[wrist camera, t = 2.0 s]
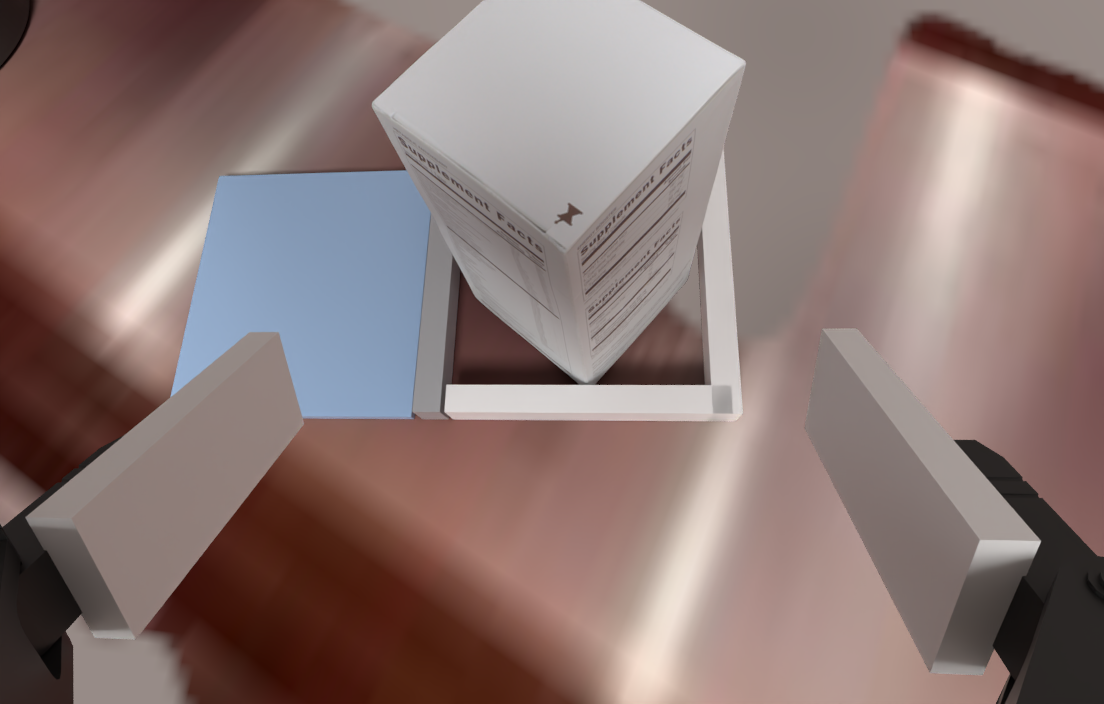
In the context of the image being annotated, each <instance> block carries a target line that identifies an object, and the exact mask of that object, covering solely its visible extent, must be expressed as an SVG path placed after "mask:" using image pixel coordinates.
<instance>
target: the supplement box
mask: <svg viewBox="0 0 1104 704" xmlns="http://www.w3.org/2000/svg"><path fill="white" fill-rule="evenodd" d="M745 66H746V62H745V61H744V60H743V59H741V58H740V57H738V56H736V55H734V54H732V53H731V52H729V51H727V50H725V49H723V48H722V47H720V46H718V45H716V44H715V43H713V42H711V41H709V40H708V39H706V38H704V37H703V36H701V35H699V34H697V33H696V32H694V31H692V30H690V29H688V28H687V27H685V26H683V25H682V24H680V23H678V22H676V21H675V20H673V19H671V18H670V17H668V16H666V15H664V14H663V13H661V12H659V11H658V10H656V9H654V8H652V7H651V6H649V5H647V4H646V3H644V2H642V1H641V0H483V1H482V2H481V3H480V4H479V5H477V6H476V7H475V8H474V9H473V10H472V11H471V12H470V13H469V14H468V15H466V16H465V17H464V18H463V19H462V20H461V21H460V22H459V23H458V24H457V25H456V26H454V27H453V28H452V29H451V30H450V31H449V32H448V33H447V34H446V35H444V37H442V38H441V39H440V40H439V41H438V42H437V43H435V44H434V45H433V46H432V47H431V48H430V49H429V50H428V51H427V52H425V53H424V54H423V55H422V56H421V57H420V58H419V59H418V60H417V61H416V62H415V63H413V64H412V65H411V66H410V67H409V68H408V69H407V70H406V71H405V72H404V73H403V74H402V75H401V76H400V77H398V78H397V79H396V80H395V81H394V82H393V83H392V84H391V85H390V86H389V87H388V88H387V89H386V90H385V91H383V92H382V93H381V94H380V95H379V96H378V97H377V98H376V99H375V100H374V101H373V102H372V108H373V110H374V112H375V114H376V115H377V117H378V119H379V121H380V123H381V124H382V126H383V128H384V130H385V132H386V133H387V135H388V137H389V139H390V141H391V143H392V144H393V146H394V148H395V150H396V152H397V154H398V155H399V157H400V159H401V161H402V163H403V164H404V166H405V168H406V170H407V172H408V173H409V175H410V177H411V179H412V181H413V182H414V184H415V186H416V188H417V190H418V191H419V193H420V195H421V196H422V198H423V200H424V201H425V203H426V205H427V207H428V209H429V210H430V212H431V213H432V215H433V217H434V219H435V221H436V223H437V225H438V228H439V230H440V232H441V234H442V236H443V238H444V240H445V242H446V244H447V245H448V247H449V249H450V251H451V253H452V255H453V256H454V258H455V260H456V262H457V264H458V266H459V267H460V269H461V271H462V273H463V275H464V277H465V278H466V280H467V282H468V284H469V286H470V288H471V290H472V292H473V294H474V296H475V297H476V298H477V299H478V300H479V301H480V302H481V303H482V304H483V305H484V306H486V307H487V308H488V309H489V310H490V311H491V312H493V313H494V314H495V315H496V316H497V317H499V318H500V319H501V320H502V321H503V322H505V323H506V324H507V325H508V326H509V327H511V328H512V329H513V330H514V331H516V332H517V333H518V334H519V335H520V336H522V337H523V338H524V339H525V340H527V341H528V342H529V343H530V344H531V345H533V346H534V347H535V348H536V349H537V350H539V351H540V352H541V353H542V354H543V355H545V356H546V357H547V358H548V359H549V360H551V361H552V362H553V363H554V364H555V365H557V366H558V367H559V368H560V369H561V370H563V371H564V372H565V373H566V374H567V375H569V376H570V377H571V378H572V379H573V380H574V381H576V382H577V383H578V384H579V385H595V384H596V383H597V382H598V381H599V379H600V378H601V377H602V376H603V375H604V374H605V373H606V372H607V371H608V369H609V368H610V367H611V366H612V365H613V364H614V363H615V362H616V361H617V360H618V359H619V357H620V356H621V355H622V354H623V353H624V352H625V351H626V350H627V349H628V348H629V346H630V345H631V344H632V343H633V342H634V341H635V340H636V339H637V337H638V336H639V335H640V334H641V333H642V332H643V331H644V330H645V328H646V327H647V326H648V325H649V324H650V323H651V322H652V321H653V319H654V318H655V317H656V316H657V315H658V314H659V313H660V312H661V310H662V309H663V308H664V307H665V306H666V305H667V304H668V302H669V301H670V300H671V299H672V298H673V297H674V295H675V294H676V293H677V292H678V291H679V290H680V289H681V288H682V286H683V285H684V284H685V283H686V282H687V280H688V277H689V272H690V269H691V265H692V262H693V258H694V254H695V250H696V246H697V243H698V239H699V236H700V232H701V228H702V225H703V221H704V218H705V214H706V210H707V206H708V202H709V199H710V195H711V191H712V188H713V184H714V181H715V177H716V174H717V170H718V166H719V162H720V158H721V155H722V151H723V148H724V144H725V140H726V137H727V133H728V129H729V126H730V122H731V118H732V114H733V111H734V107H735V104H736V100H737V97H738V93H739V89H740V85H741V82H742V78H743V74H744V69H745Z"/></svg>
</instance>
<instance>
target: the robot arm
mask: <svg viewBox="0 0 1104 704" xmlns="http://www.w3.org/2000/svg"><path fill="white" fill-rule="evenodd" d="M28 15H29V0H0V66H1V64H2V63H3V62H4V61H5V60H6V59H7V58H8V56H9V55H10V54H11V52H12V51H13V50H14V48H15V47H16V45H17V43H18V42H19V40H20V38H21V36H22V34H23V31H24V29H25V26H26V23H27V20H28ZM303 425H304V422H303V418H302V415H301V411H300V407H299V404H298V400H297V396H296V393H295V389H294V386H293V382H292V378H291V375H290V371H289V368H288V364H287V360H286V357H285V353H284V350H283V346H282V342H281V339H280V335H279V332H249V333H248V334H247V335H245V336H244V337H243V338H242V339H241V340H239V341H238V342H237V343H236V344H235V345H233V346H232V347H231V348H230V349H229V350H227V351H226V352H225V353H224V354H222V355H221V356H220V357H219V358H218V359H216V360H215V361H214V362H213V363H212V364H210V365H209V366H208V367H207V368H206V369H204V370H203V371H202V372H201V373H199V374H198V375H197V376H196V377H195V378H193V379H192V380H191V381H190V382H189V383H187V384H186V385H185V386H184V387H183V388H181V389H180V390H179V391H178V392H176V393H175V394H174V395H173V396H172V397H170V398H169V399H168V400H167V401H166V402H164V403H163V404H162V405H161V406H160V407H158V408H157V409H156V410H155V411H153V412H152V413H151V414H150V415H149V416H147V417H146V418H145V419H144V420H143V421H141V422H140V423H139V424H138V425H137V426H135V427H134V428H133V429H132V430H130V431H129V432H128V433H127V434H126V435H124V436H122V437H120V438H118V439H116V440H114V441H113V442H111V443H109V444H107V445H105V446H103V447H101V448H100V449H98V450H97V451H96V452H95V453H93V454H92V455H91V456H90V457H89V458H87V459H86V460H85V461H84V462H82V463H81V464H80V465H79V468H78V469H74V470H72V471H71V472H70V473H69V474H68V475H66V476H65V477H64V478H63V479H62V482H61V483H56V484H55V485H54V486H53V487H52V488H50V489H49V490H48V491H47V492H45V493H44V494H43V495H42V496H40V497H39V498H38V499H37V500H35V501H34V502H33V503H32V504H31V505H29V506H28V507H27V508H26V509H24V510H23V511H22V512H21V513H19V514H18V515H17V516H16V517H15V518H13V519H12V520H11V521H10V522H8V523H7V524H6V525H5V526H3V527H2V526H1V525H0V704H73V645H72V643H71V641H70V638H69V637H68V635H67V633H66V632H65V631H66V630H67V629H68V628H69V627H70V626H71V624H72V623H73V622H74V621H75V620H76V619H77V618H78V617H79V616H80V615H82V616H83V618H84V620H85V622H86V623H87V625H88V627H89V629H90V630H91V632H92V634H93V635H94V637H95V638H113V639H137V637H138V636H139V635H140V633H141V632H142V631H143V630H144V628H145V627H146V626H147V624H148V623H149V622H150V621H151V619H152V618H153V617H154V615H155V614H156V613H157V612H158V610H159V609H160V608H161V607H162V605H163V604H164V603H165V601H166V600H167V599H168V598H169V596H170V595H171V594H172V592H173V591H174V590H175V589H176V587H177V586H178V585H179V583H180V582H181V581H182V580H183V578H184V577H185V576H186V574H187V573H188V572H189V571H190V569H191V568H192V567H193V566H194V564H195V563H196V562H197V560H198V559H199V558H200V557H201V555H202V554H203V553H204V551H205V550H206V549H207V548H208V546H209V545H210V544H211V542H212V541H213V540H214V539H215V537H216V536H217V535H218V534H219V532H220V531H221V530H222V528H223V527H224V526H225V525H226V523H227V522H228V521H229V519H230V518H231V517H232V516H233V514H234V513H235V512H236V510H237V509H238V508H239V507H240V505H241V504H242V503H243V502H244V500H245V499H246V498H247V496H248V495H249V494H250V493H251V491H252V490H253V489H254V487H255V486H256V485H257V484H258V482H259V481H260V480H261V478H262V477H263V476H264V475H265V473H266V472H267V471H268V469H269V468H270V467H271V466H272V464H273V463H274V462H275V461H276V459H277V458H278V457H279V455H280V454H281V453H282V452H283V450H284V449H285V448H286V446H287V445H288V444H289V443H290V441H291V440H292V439H293V437H294V436H295V435H296V434H297V432H298V431H299V430H300V429H301V427H302V426H303ZM805 430H806V432H807V434H808V436H809V438H810V440H811V442H812V444H813V445H814V447H815V449H816V451H817V453H818V455H819V457H820V459H821V461H822V463H823V465H824V467H825V469H826V471H827V473H828V475H829V477H830V479H831V481H832V483H833V485H834V486H835V488H836V490H837V492H838V494H839V496H840V498H841V500H842V502H843V504H844V506H845V508H846V510H847V512H848V514H849V516H850V518H851V520H852V522H853V524H854V526H855V528H856V529H857V531H858V533H859V535H860V537H861V539H862V541H863V543H864V545H865V547H866V549H867V551H868V553H869V555H870V557H871V559H872V561H873V563H874V565H875V567H876V569H877V570H878V572H879V574H880V576H881V578H882V580H883V582H884V584H885V586H886V588H887V590H888V592H889V594H890V596H891V598H892V600H893V602H894V604H895V606H896V608H897V610H898V611H899V613H900V615H901V617H902V619H903V621H904V623H905V625H906V627H907V629H908V631H909V633H910V635H911V637H912V639H913V641H914V643H915V645H916V647H917V649H918V651H919V653H920V654H921V656H922V658H923V660H924V662H925V664H926V666H927V668H928V670H929V672H930V673H942V674H966V675H983V673H984V671H985V668H986V666H987V664H988V662H989V659H990V657H991V655H992V652H993V650H994V649H995V650H996V652H997V653H998V655H999V656H1000V658H1001V660H1002V661H1003V663H1004V664H1005V666H1006V667H1007V669H1008V671H1009V672H1010V675H1009V677H1008V679H1007V681H1006V683H1005V685H1004V688H1003V690H1002V692H1001V694H1000V696H999V698H998V700H997V702H996V704H1104V557H1100V556H1097V555H1096V554H1095V553H1094V552H1093V551H1092V550H1091V549H1090V548H1089V547H1088V546H1087V545H1086V544H1085V543H1084V542H1083V541H1082V540H1081V538H1080V537H1079V536H1078V535H1077V534H1076V533H1075V532H1074V531H1073V530H1072V529H1071V528H1070V527H1069V526H1068V525H1067V524H1066V523H1065V522H1064V521H1063V520H1062V518H1061V517H1060V516H1059V515H1058V514H1057V513H1056V512H1055V511H1054V510H1053V509H1052V508H1051V507H1050V506H1049V505H1048V504H1047V503H1046V502H1045V501H1044V500H1043V498H1039V497H1038V493H1037V492H1036V491H1035V490H1034V489H1033V488H1032V487H1031V486H1030V485H1029V484H1028V483H1027V482H1026V481H1023V480H1022V476H1021V475H1020V474H1019V473H1018V472H1017V471H1016V470H1015V469H1014V468H1013V467H1012V466H1011V465H1010V464H1009V463H1008V462H1007V461H1006V460H1005V459H1004V457H1002V456H1000V455H999V454H997V453H995V452H994V451H992V450H991V449H989V448H987V447H986V446H984V445H982V444H981V443H979V442H978V441H976V440H953V439H952V438H951V437H950V435H949V434H948V433H947V432H946V431H945V430H944V429H943V427H942V426H941V425H940V424H939V423H938V422H937V420H936V419H935V418H934V417H933V416H932V415H931V414H930V412H929V411H928V410H927V409H926V408H925V407H924V405H923V404H922V403H921V402H920V401H919V400H918V399H917V397H916V396H915V395H914V394H913V393H912V392H911V390H910V389H909V388H908V387H907V386H906V385H905V384H904V382H903V381H902V380H901V379H900V378H899V377H898V376H897V374H896V373H895V372H894V371H893V370H892V369H891V367H890V366H889V365H888V364H887V363H886V362H885V361H884V359H883V358H882V357H881V356H880V355H879V354H878V352H877V351H876V350H875V349H874V348H873V347H872V346H871V344H870V343H869V342H868V341H867V340H866V339H865V337H864V336H863V335H862V334H861V333H860V332H859V331H858V329H857V328H849V329H822V332H821V338H820V344H819V349H818V355H817V360H816V366H815V372H814V377H813V383H812V389H811V394H810V400H809V406H808V411H807V417H806V422H805Z"/></svg>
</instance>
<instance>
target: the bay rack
mask: <svg viewBox="0 0 1104 704" xmlns="http://www.w3.org/2000/svg"><path fill="white" fill-rule="evenodd" d="M727 201H728V200H727V187H726V173H725V160H724V148H723V151H722V155H721V158H720V162H719V166H718V170H717V174H716V177H715V181H714V184H713V188H712V191H711V195H710V199H709V202H708V206H707V210H706V214H705V218H704V221H703V225H702V228H701V232H700V236H699V239H698V243H697V249H698V268H699V286H700V305H701V324H702V342H703V361H704V379H705V385H452V374H453V361H454V348H455V335H456V322H457V309H458V296H459V282H460V267H459V266H458V264H457V262H456V260H455V258H454V256H453V255H452V253H451V251H450V249H449V247H448V245H447V244H446V242H445V240H444V238H443V236H442V234H441V232H440V230H439V228H438V225H437V223H436V221H435V219H434V217H433V215H432V213H431V212H430V210H429V209H428V207H427V205H426V203H425V201H424V200H423V198H422V196H421V195H420V193H419V191H418V190H417V188H416V186H415V184H414V182H413V181H412V179H411V177H410V175H409V173H408V172H407V170H402V171H369V172H336V173H304V174H271V175H238V176H219V180H218V184H217V189H216V193H215V198H214V202H213V207H212V211H211V216H210V220H209V225H208V229H207V234H206V238H205V243H204V248H203V252H202V257H201V261H200V266H199V270H198V275H197V279H196V284H195V288H194V293H193V297H192V302H191V306H190V311H189V316H188V320H187V325H186V329H185V334H184V338H183V343H182V347H181V352H180V356H179V361H178V365H177V370H176V374H175V379H174V383H173V388H172V393H171V397H172V396H173V395H174V394H175V393H176V392H178V391H179V390H180V389H181V388H183V387H184V386H185V385H186V384H187V383H189V382H190V381H191V380H192V379H193V378H195V377H196V376H197V375H198V374H199V373H201V372H202V371H203V370H204V369H206V368H207V367H208V366H209V365H210V364H212V363H213V362H214V361H215V360H216V359H218V358H219V357H220V356H221V355H222V354H224V353H225V352H226V351H227V350H229V349H230V348H231V347H232V346H233V345H235V344H236V343H237V342H238V341H239V340H241V339H242V338H243V337H244V336H245V335H247V334H248V333H249V332H279V335H280V339H281V342H282V346H283V350H284V353H285V357H286V360H287V364H288V368H289V371H290V375H291V378H292V382H293V386H294V389H295V393H296V396H297V400H298V404H299V407H300V411H301V415H302V418H317V419H414V417H415V414H416V415H417V416H419V417H420V418H422V419H449V416H450V417H451V418H452V419H458V420H600V421H736V420H737V419H738V418H739V417H740V416H741V415H742V414H743V407H742V393H741V379H740V366H739V352H738V338H737V325H736V311H735V297H734V283H733V270H732V257H731V242H730V228H729V214H728V202H727Z"/></svg>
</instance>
